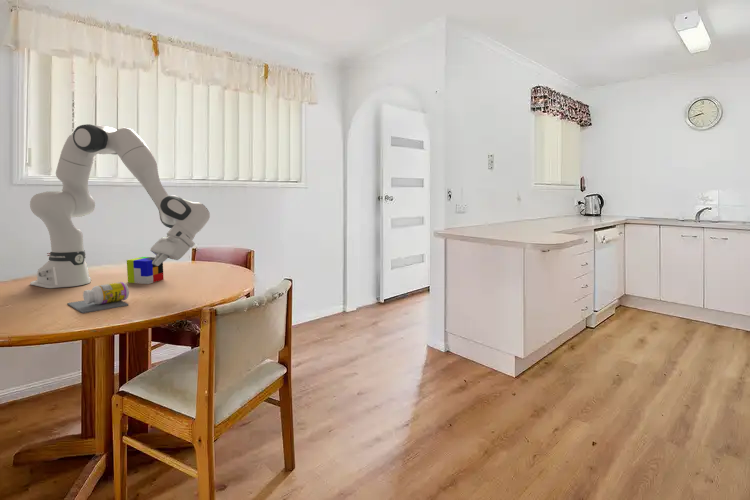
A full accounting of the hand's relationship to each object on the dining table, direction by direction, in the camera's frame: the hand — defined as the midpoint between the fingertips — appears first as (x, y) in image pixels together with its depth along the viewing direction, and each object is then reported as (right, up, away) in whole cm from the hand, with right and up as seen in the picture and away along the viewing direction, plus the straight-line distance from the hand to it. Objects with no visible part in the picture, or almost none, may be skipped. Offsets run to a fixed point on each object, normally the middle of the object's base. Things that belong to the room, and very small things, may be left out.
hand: (154, 264), depth 166 cm
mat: (-13, -14, -13) cm, 23 cm away
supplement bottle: (-7, -9, -7) cm, 14 cm away
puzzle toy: (-18, -9, +27) cm, 33 cm away
